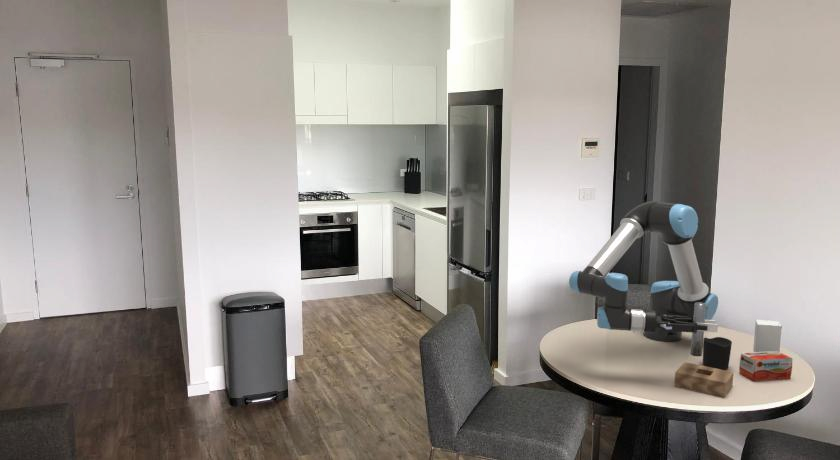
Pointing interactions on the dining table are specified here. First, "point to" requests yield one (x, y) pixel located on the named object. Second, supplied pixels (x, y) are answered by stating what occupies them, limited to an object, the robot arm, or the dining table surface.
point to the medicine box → (765, 366)
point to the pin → (698, 337)
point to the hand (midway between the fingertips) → (715, 326)
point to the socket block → (704, 379)
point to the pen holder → (716, 352)
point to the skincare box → (767, 336)
